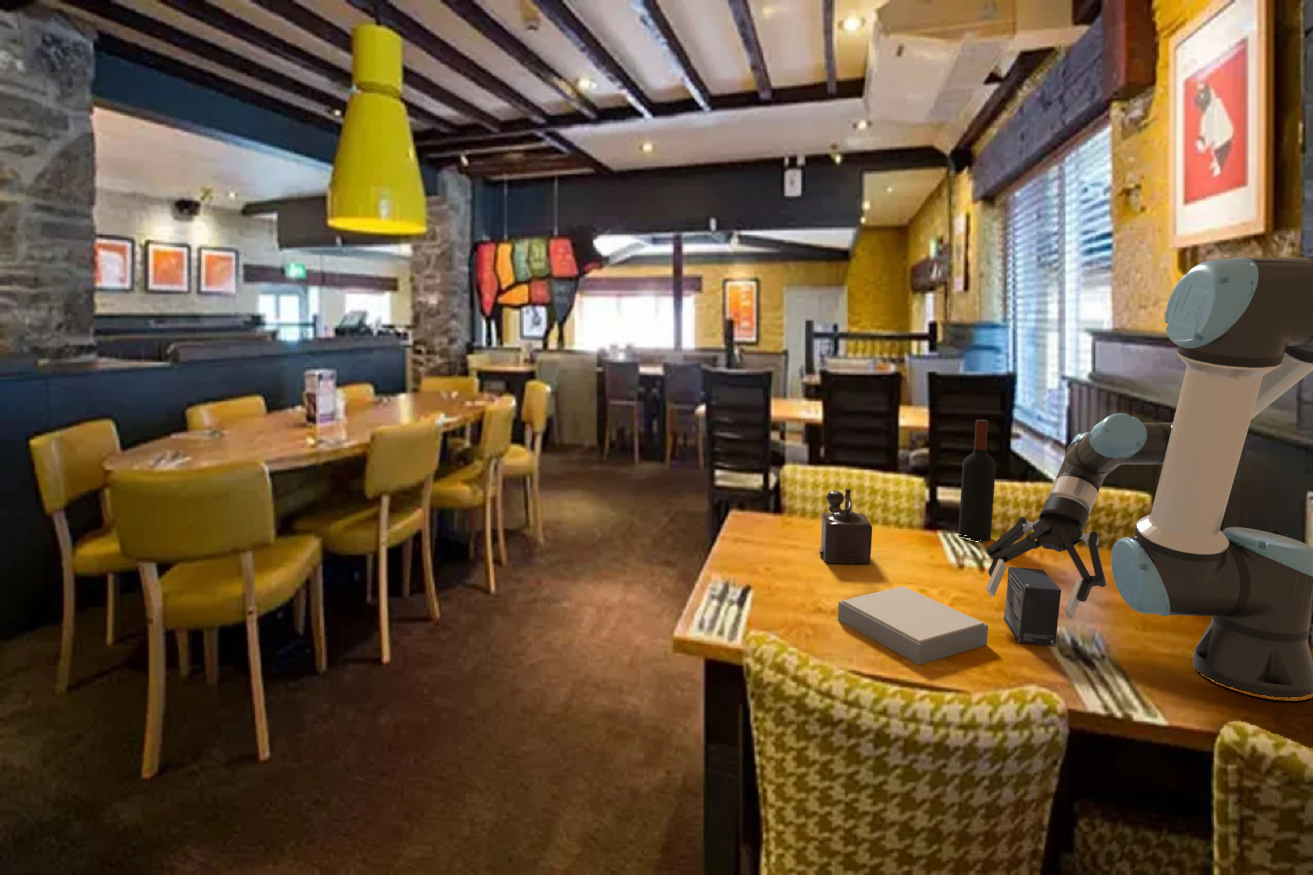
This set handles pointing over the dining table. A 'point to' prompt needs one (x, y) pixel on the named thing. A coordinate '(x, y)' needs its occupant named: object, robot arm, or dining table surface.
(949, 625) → the stand
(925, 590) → the dining table surface
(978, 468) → the wine bottle
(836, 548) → the pepper mill
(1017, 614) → the small box
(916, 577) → the dining table surface
